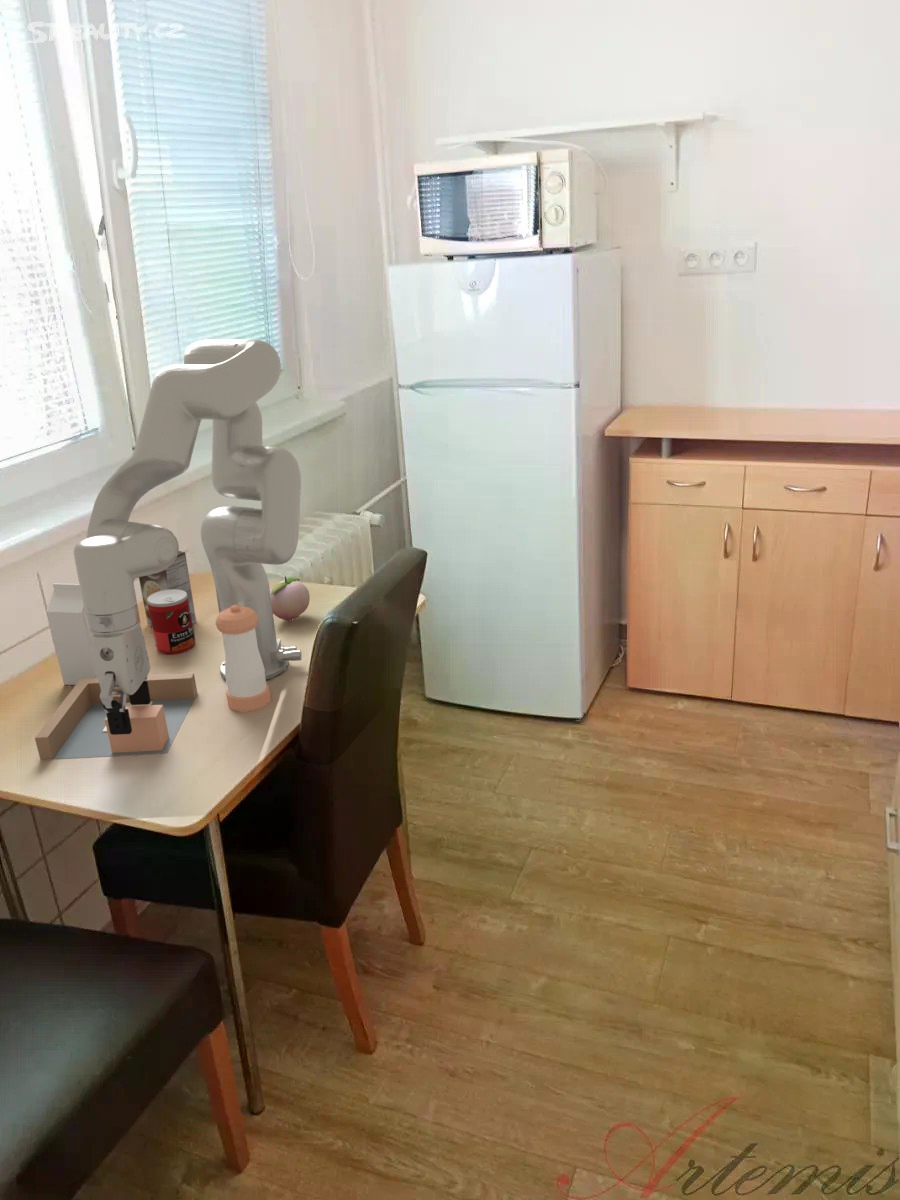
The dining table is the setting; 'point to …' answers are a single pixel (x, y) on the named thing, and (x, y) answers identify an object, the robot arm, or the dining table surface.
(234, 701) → the pepper shaker
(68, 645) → the milk carton
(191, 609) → the coffee box
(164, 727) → the terracotta block
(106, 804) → the dining table surface
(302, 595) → the decorative fruit
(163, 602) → the canned food
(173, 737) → the arena board
